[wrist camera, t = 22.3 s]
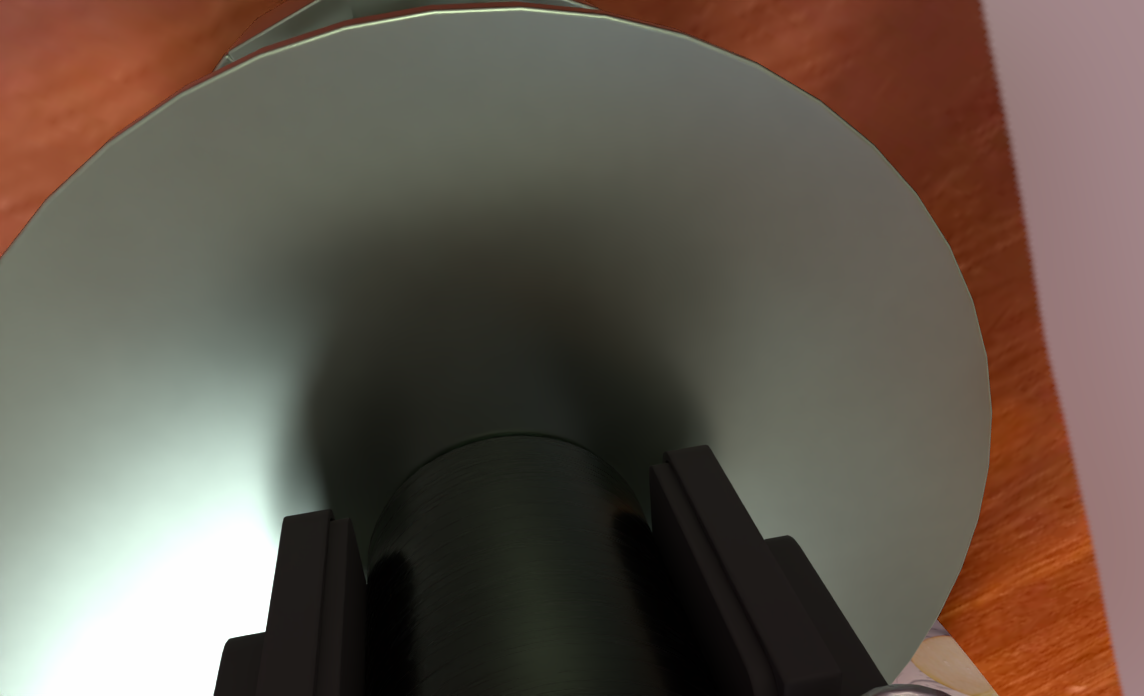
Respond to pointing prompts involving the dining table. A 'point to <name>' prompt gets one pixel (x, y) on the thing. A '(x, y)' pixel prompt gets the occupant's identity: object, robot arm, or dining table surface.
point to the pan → (334, 19)
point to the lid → (474, 359)
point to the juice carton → (944, 667)
